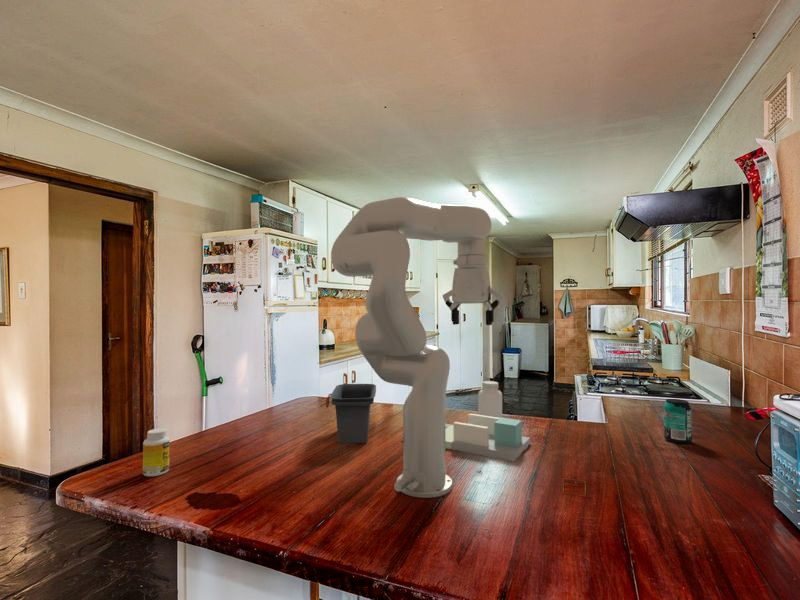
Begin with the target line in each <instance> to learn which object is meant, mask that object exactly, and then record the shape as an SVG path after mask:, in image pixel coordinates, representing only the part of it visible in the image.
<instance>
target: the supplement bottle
mask: <svg viewBox="0 0 800 600" xmlns="http://www.w3.org/2000/svg"><path fill="white" fill-rule="evenodd" d="M146 434H147V435H146V439H144V441H143V443H142V475H144V476H145V477H159V476H161V475H164V474H166V473H167V472H168V471H169V470H170V447H171V446H170V444H171V443H170V440H171V439H170V437H169V436H167V429H166V428H164V427H163V428H162V427H161V428H160V427H159V428H153V429H150V430H148V431H147V433H146Z"/></svg>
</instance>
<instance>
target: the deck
mask: <svg viewBox="0 0 800 600" xmlns="http://www.w3.org/2000/svg"><path fill="white" fill-rule="evenodd" d="M467 415H468V419H467V423H465V422H459V421H454V422H453V424H450V423H445V447H446V450H447V449H448V450H453V451H457V450H458V451H459V452H462V453H468V454H472V455H478V456H483V457H487V456H488V458H493V459H498V460H503V461H509V462H512V461H513V462H514V461H515V462H516V461H517V460H518V459H519V458H520V457H521V455H522V454H523V453H524V452H525V451H524V450H527V448H529V446H530V445H531V437H527V436H523V435H522V442H521V443H520V444H519V445H518V446H517V447H516V448H514V447H508V446H503V445H497V444H494V422H496V421H497V420H499V419H500V418H498V417H491V416H484V415H478V413H475V414H474V413H468V414H467ZM529 444H530V445H529ZM528 445H529V446H528ZM523 451H524V452H523ZM522 452H523V453H522ZM521 453H522V454H521ZM513 462H512V463H513Z"/></svg>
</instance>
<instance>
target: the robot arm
mask: <svg viewBox="0 0 800 600" xmlns="http://www.w3.org/2000/svg"><path fill="white" fill-rule="evenodd" d="M491 230H492V221H491V217H490V215H489V213H488V212H487V211H486V210H484V209H483V208H481V207H477V206H472V205H462V204H461V205H456V204H455V205H454V204H444V203H443V204H442V203H441V204H440V203H439V204H437V203H432V202H426V201H423V200H419V199H416V198H412V197H411V198H410V197H404V196H397V197H393V198H391V197H390V198H388V199H386V198H385V199H382V200H377V201H372V202H369V203H367V204H365V205H364V206H362V207H361V208H360V209H359V210H358V211H357V213H355V214H354V216H353V217H352V218H351V219H350V220H349V222H348V223H347V225H345V227H344V228H343V230H342V231H341V232H340V233H339V235H338V236H337V237H336V239H335V241H334V242H333V245H332V247H331V252H330V258H331V259H330V260H331V264H332V267H333V269H334V270H335V271H336V272H337V273H339V275H342V276H345V277H351V278H352V277H354V278H355V277H369V276H371V282H370V285H369V288H368V291H367V293H366V297H365V308H366V313H365V314H362V316H360V318H359V319H358V320H357V322H356V325H355V329H354V336H355V343H356V346H357V348H358V349H359V352H360V353H361V354H362V356H363V357H364V358H365V360H366V361H367V363H368V364H369V365H370V367H371V368H372V370H373V371H374V372H375V373H376V375H377V376H378V377H379V378H380V379H381V380H382V381H383V382H386V383H389V384H394V385H402V386H408V387H412V389H411V391H410V393H409V394H408V396H407V397H406V399H405V401H404V404H403V410H402V417H403V418H402V419H403V420H402V421H403V422H402V423H403V424H402V425H403V429H402V430H403V432H402V440H403V446H402V447H403V448H402V450H403V452H402V453H403V459H402V460H403V463H402V464H403V467H402V468H403V469H402V473H401V474H400V475H399V476H398V477H397V478H396V482H394V485H393V487H394V490H395V491H396V492H397V493H398V492H401V493H403V494H405V495H406V496H407V495H408V496H411V497H414V498H423V499H429V498H430V499H431V498H437V497H441V496H445V495H446V494H448V493H449V492H451V491H452V490H453V480H452V478H451V477H450V476H449V475H448V474H446V473H447V471H446V469H447V468H446V466H447V465H446V460H447V459H446V450H447V448H446V447H445V424H446V400H447V399H446V398H447V386H448V381H449V375H450V367H451V362H450V358H449V355H448V354H447V352H446V351H445V350H443V349H442V348H440V347H438V346H435V345H431V344H430V345H429V344H427V340H428V339H427V333H426V329H425V327H424V325H423V324H422V321H421V320H420V318H419V316H418V314H417V313H416V311H415V308H414V307H413V305H412V303H411V302H410V299H409V297H408V295H407V292H406V282H407V281H406V280H407V276H408V275H407V274H408V269H409V263H410V259H411V248H410V243H409V241H408V240H409V239H410V240H420V241H430V242H431V241H443V242H445V243H450V244H451V243H453V244H454V243H456V244H457V256H456V259H454V260H453V262H452V263H453V265H454V266H455V265H456V266H457V267H456V268H454V271H453V277H452V284H451V287H452V288H451V290H449V291H447V292H446V293H443V294H442V299H443V301H444V303H445V305H446V307H448V309H449V310H450V312H451V313H450V314H451V315H450V316H451V322H452V325H453V326H454V325H459V324H460V310H459V309H458V308H460V306H461V304H463V305H464V304H467V305H469V304H483V305H484V307H485V308H486V310H485V324H486V326H492V325H493V323H494V319H495V318H494V311H495V309H496V308H497V307H498V306H499V305H500V304H501V301H502V299H503V297H504V293H502V292H500V291H498V290H495V289H494V288H492V287H491V286H492V285H491V280H490V278H491V277H490V273H489V267H488V266H486V238H487V237H488V236H489V235H490V233H491ZM492 295H493V296H495V300H494V301H493V302H491V301H492ZM450 297H451V298H450Z"/></svg>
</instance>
